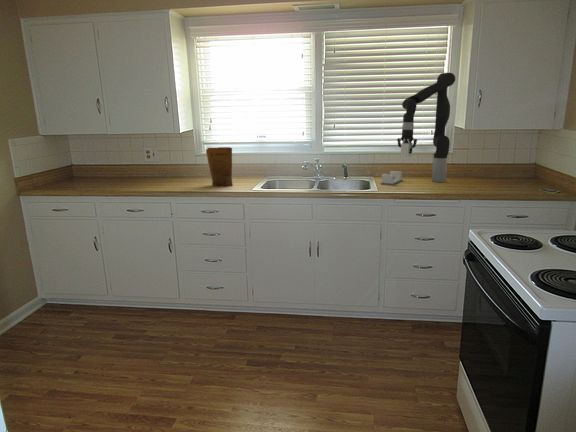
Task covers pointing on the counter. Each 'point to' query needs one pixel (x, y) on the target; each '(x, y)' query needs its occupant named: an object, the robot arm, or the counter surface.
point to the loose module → (405, 150)
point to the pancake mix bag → (220, 165)
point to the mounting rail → (392, 178)
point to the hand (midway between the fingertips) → (406, 153)
